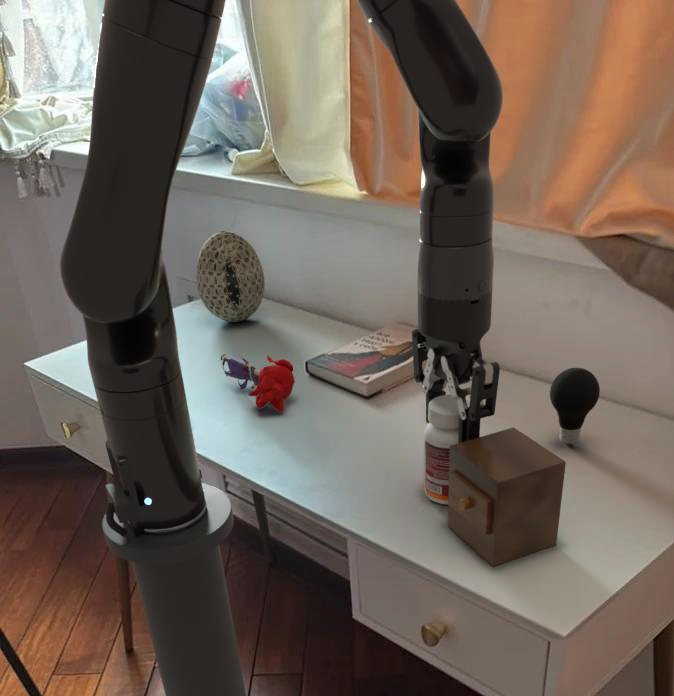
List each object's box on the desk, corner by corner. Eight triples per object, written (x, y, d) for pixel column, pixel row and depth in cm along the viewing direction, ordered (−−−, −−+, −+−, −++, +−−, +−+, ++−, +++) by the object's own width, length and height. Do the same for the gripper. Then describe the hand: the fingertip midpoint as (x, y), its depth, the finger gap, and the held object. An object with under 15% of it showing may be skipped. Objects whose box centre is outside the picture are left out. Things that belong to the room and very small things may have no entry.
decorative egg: (207, 335, 147) (192, 245, 138) (200, 314, 156) (186, 227, 147) (273, 326, 148) (263, 236, 139) (262, 305, 158) (252, 219, 148)
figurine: (245, 372, 131) (316, 396, 123) (207, 402, 127) (278, 428, 119) (233, 335, 126) (307, 357, 118) (194, 365, 123) (266, 390, 115)
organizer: (483, 570, 88) (487, 486, 82) (438, 529, 94) (439, 448, 88) (556, 544, 90) (566, 461, 84) (507, 506, 97) (513, 427, 91)
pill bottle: (480, 504, 98) (485, 414, 91) (427, 508, 98) (427, 418, 91) (471, 478, 103) (475, 390, 96) (421, 482, 103) (420, 394, 96)
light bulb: (562, 429, 111) (570, 356, 105) (601, 443, 108) (612, 368, 102) (535, 446, 108) (542, 371, 102) (574, 460, 105) (584, 383, 99)
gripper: (388, 273, 90) (392, 419, 100) (461, 312, 79) (457, 470, 89) (449, 260, 92) (447, 404, 102) (528, 296, 81) (516, 452, 92)
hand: (451, 434), depth 96 cm, fingers open, 6 cm apart
